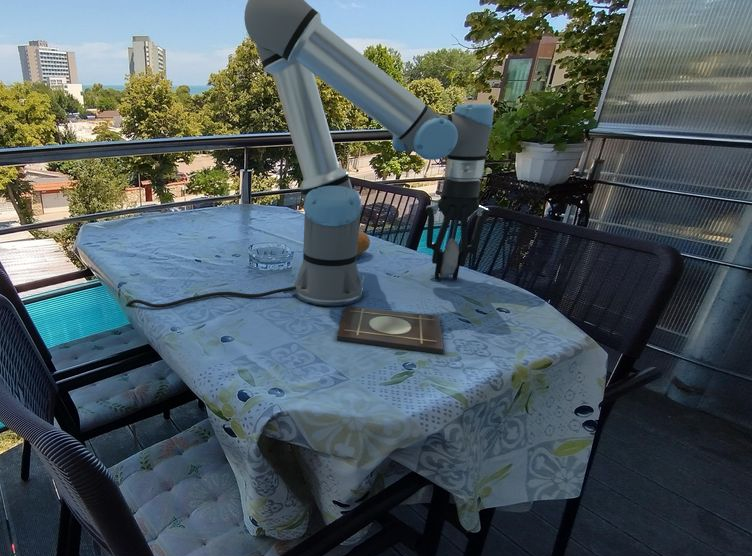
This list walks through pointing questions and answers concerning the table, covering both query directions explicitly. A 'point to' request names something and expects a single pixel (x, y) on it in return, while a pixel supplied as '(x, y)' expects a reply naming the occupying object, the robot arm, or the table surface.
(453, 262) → the fossil
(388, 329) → the board
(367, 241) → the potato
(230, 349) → the table surface
